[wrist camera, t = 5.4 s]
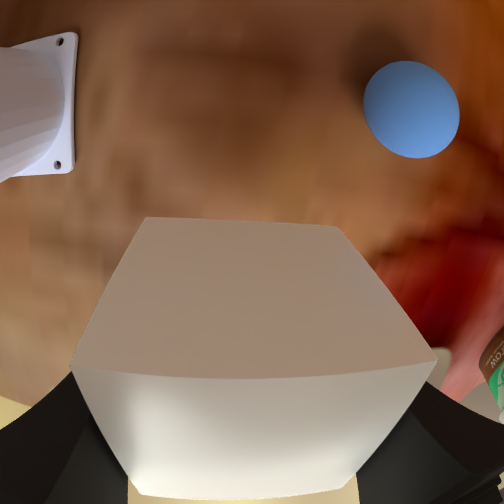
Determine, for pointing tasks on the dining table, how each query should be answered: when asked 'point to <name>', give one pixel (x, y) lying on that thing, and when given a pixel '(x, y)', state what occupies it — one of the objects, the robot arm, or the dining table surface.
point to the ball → (411, 109)
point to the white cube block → (246, 359)
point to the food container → (495, 368)
